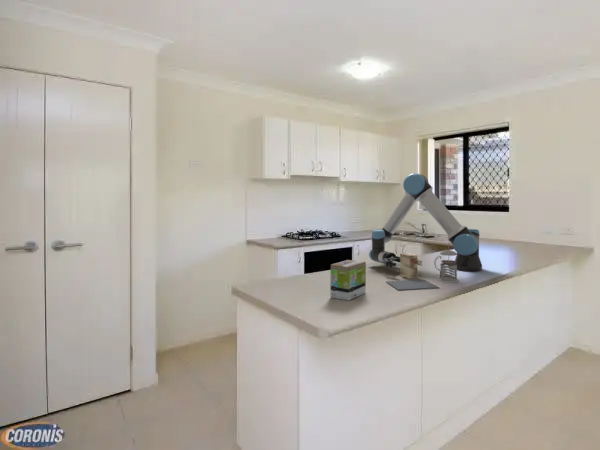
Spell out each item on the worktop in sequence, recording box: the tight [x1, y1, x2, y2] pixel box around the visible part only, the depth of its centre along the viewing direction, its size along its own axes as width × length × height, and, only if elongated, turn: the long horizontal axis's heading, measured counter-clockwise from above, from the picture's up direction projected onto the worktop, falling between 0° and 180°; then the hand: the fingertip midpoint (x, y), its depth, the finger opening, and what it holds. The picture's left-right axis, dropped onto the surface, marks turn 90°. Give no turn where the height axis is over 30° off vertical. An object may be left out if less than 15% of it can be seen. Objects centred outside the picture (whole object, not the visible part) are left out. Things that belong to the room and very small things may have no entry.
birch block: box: [399, 252, 419, 279], centre depth 193 cm, size 5×8×12 cm, turn 21°
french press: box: [433, 231, 460, 284], centre depth 183 cm, size 10×12×25 cm
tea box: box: [329, 259, 367, 301], centre depth 161 cm, size 15×10×15 cm, turn 143°
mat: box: [385, 278, 440, 291], centre depth 176 cm, size 20×16×1 cm
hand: (411, 264), depth 191 cm, fingers open, 13 cm apart
